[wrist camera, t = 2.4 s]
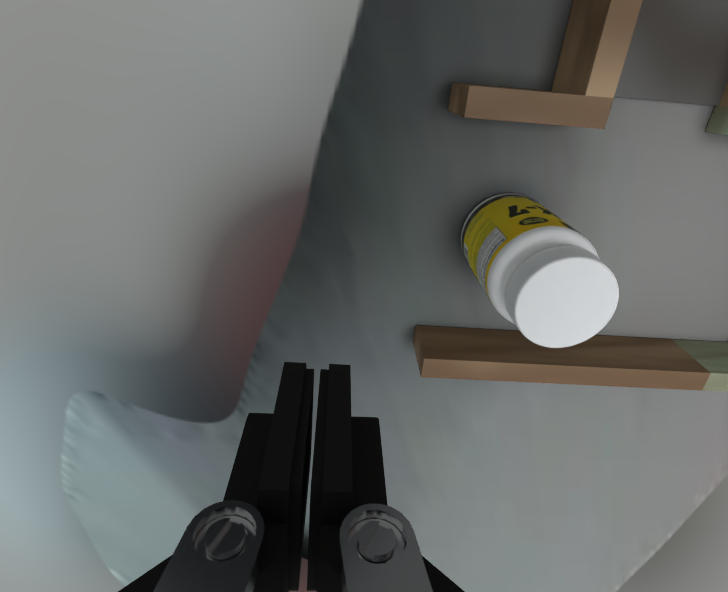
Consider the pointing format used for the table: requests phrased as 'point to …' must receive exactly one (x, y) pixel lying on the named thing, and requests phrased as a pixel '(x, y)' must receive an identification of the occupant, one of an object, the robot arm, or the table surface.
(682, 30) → the zigzag wooden rail
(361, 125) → the table surface
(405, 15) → the table surface
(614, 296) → the supplement bottle
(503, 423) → the table surface
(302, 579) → the mortar and pestle
